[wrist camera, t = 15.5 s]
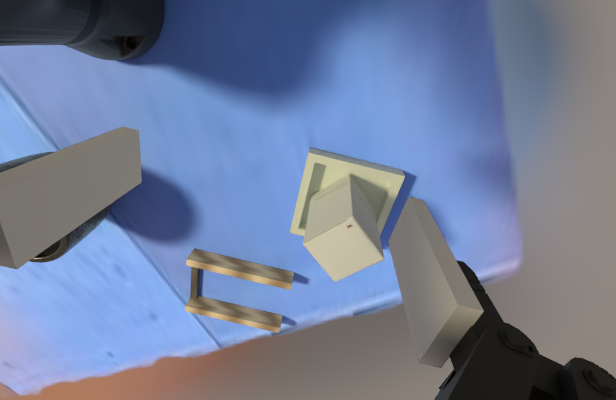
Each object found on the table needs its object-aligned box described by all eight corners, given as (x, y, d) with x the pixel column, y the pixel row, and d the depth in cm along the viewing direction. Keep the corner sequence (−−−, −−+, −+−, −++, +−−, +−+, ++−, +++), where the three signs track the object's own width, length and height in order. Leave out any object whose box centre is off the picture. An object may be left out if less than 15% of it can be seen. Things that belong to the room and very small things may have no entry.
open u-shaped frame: (191, 299, 60) (185, 311, 58) (194, 248, 54) (186, 259, 51) (281, 320, 61) (278, 332, 58) (294, 272, 54) (291, 283, 52)
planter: (109, 137, 45) (31, 168, 34) (141, 215, 52) (85, 263, 40) (30, 143, 47) (-69, 174, 36) (70, 217, 53) (-2, 264, 42)
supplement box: (309, 195, 46) (300, 243, 35) (350, 171, 43) (354, 215, 32) (334, 229, 48) (333, 283, 37) (375, 208, 46) (386, 260, 35)
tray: (291, 224, 50) (289, 232, 47) (309, 147, 43) (308, 152, 41) (371, 243, 50) (372, 252, 48) (401, 170, 43) (405, 176, 41)
